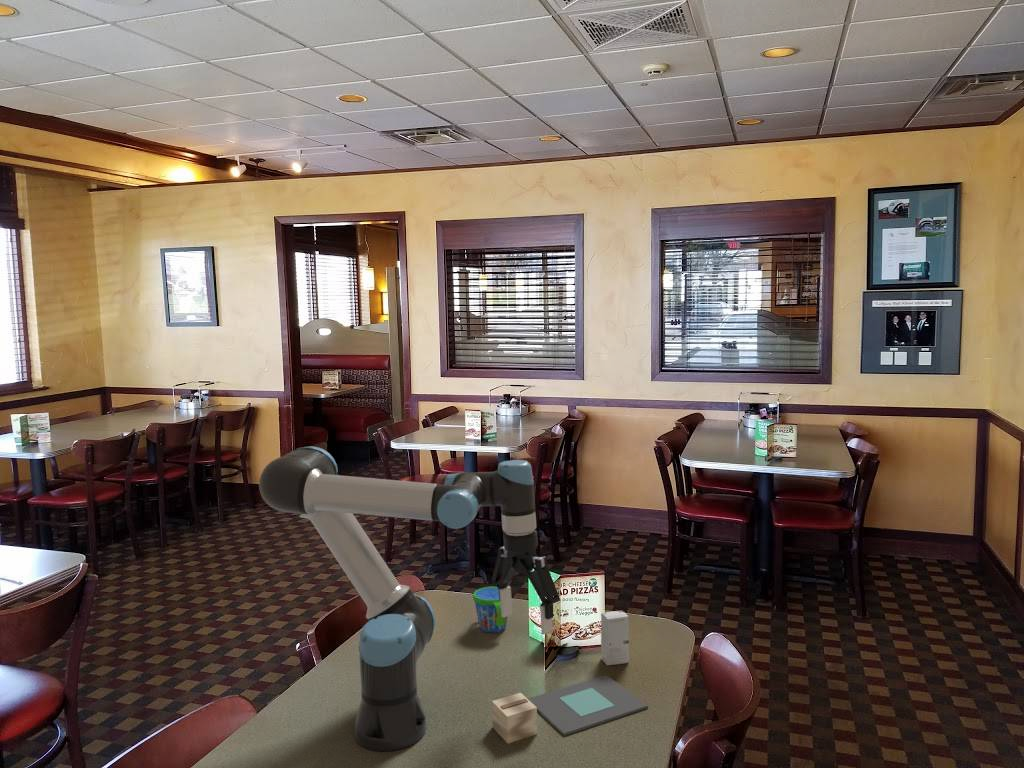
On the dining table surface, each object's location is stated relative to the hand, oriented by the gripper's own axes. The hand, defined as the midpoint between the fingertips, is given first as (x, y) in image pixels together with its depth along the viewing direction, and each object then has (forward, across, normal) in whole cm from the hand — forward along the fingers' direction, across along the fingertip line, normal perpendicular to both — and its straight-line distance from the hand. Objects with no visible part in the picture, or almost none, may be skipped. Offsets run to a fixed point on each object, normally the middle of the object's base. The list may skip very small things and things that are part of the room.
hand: (526, 623), depth 167 cm
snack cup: (+18, +38, -19) cm, 46 cm away
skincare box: (+20, +2, -30) cm, 36 cm away
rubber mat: (+20, -8, -9) cm, 23 cm away
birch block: (+19, -5, +10) cm, 22 cm away
